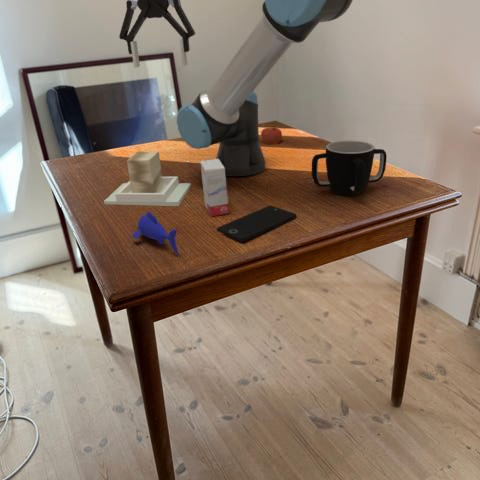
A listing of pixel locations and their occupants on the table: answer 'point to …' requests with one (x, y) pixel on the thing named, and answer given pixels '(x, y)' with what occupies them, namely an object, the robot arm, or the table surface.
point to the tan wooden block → (145, 172)
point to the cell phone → (256, 223)
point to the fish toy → (155, 230)
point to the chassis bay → (151, 194)
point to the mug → (349, 166)
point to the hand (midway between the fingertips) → (160, 66)
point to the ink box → (214, 187)
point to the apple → (271, 135)
